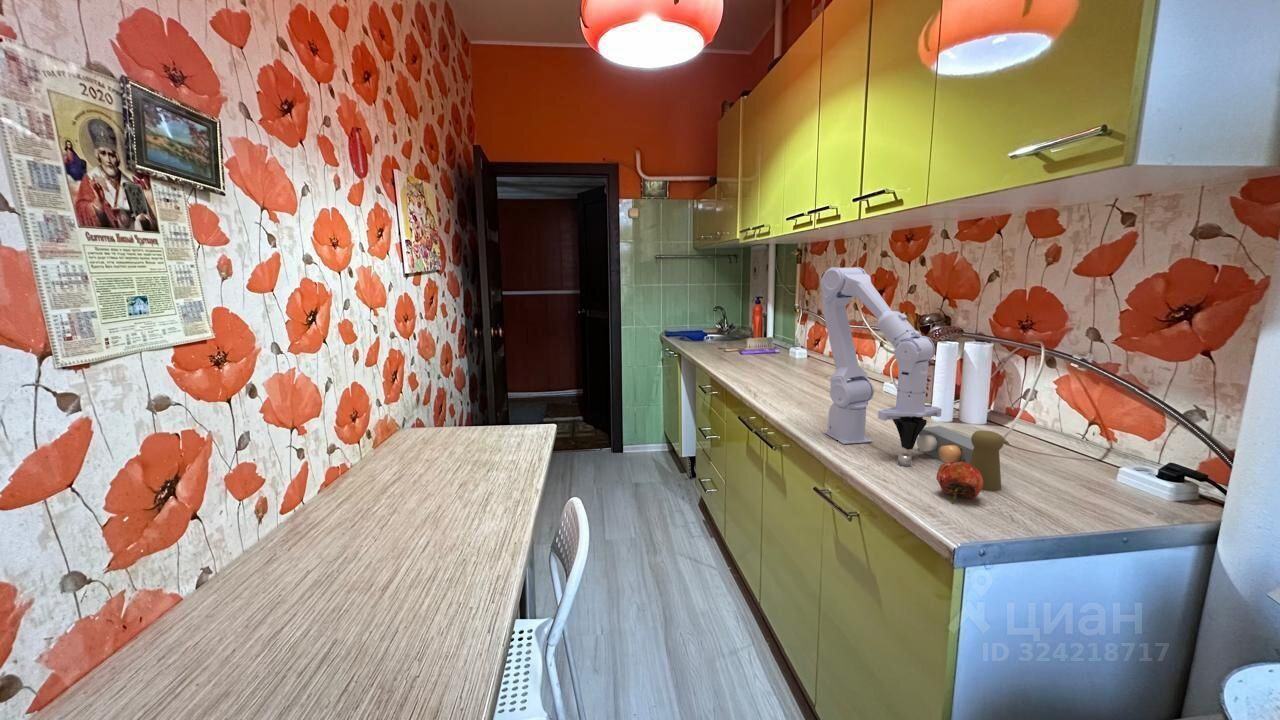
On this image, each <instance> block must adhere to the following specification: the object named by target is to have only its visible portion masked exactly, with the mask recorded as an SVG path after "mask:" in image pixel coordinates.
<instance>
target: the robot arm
mask: <svg viewBox="0 0 1280 720" xmlns="http://www.w3.org/2000/svg"><path fill="white" fill-rule="evenodd" d="M819 284H820V288H821V293H822V294H821V297H822V298H821V308H822V313H823V317H824V321H825V325H826V331H827V336H828V339H829V343H830V344H829V345H830V348H831V350H830V351H831V354H832V357H833V363H834V368H835V371H834V373H833V374H832V375H831V376H830V378H829V382H830V389H829V396H830V399H831V400H832V403H831V405H830V407H829V409H828V419H827V420H828V422H827V424H828V425H827V430H826V431H824V434H826V435H827V436H830V437H831V438H832V439H834V440H836V441H837V440H838V442H839V443H841V444H843V445H850V444H851V445H852V444H863V443H872V442H873V440H872V438H869V437H867V436H866V421H867V406H868V405H869V401H871V400H872V399H873V398H874V394H875V389H874V385H873V383H872V382H871V380H870V379H869V376H868V373H867V371H866V370H864V369H863V368H861V367H860V365H859V361H858V356H857V352H856V348H855V343H854V340H853V335H852V331H851V330H852V329H851V326H850V321H849V318H848V312H847V305H848V304H849V303H850V302H851V300H853V298H857V299H858V300H859V301H860V302H861V303H862V304H863V305H864V306H865V307H866V308H867V309H868V310H869V312H870V313H872V314H873V316H874V317H875V318H876V319H878V320H877V328H878V330H879V331H880V332H881V333H882V334H883V335H884V337H885V338H886V339H887V341H888V342H889V343H890V344H891V346H892V347H893V348H894V349H893V355H894V358H895V360H896V362H897V369H898V373H897V375H898V376H897V377H898V378H897V388H896V402H895V403H896V404H895V407H891V408H886V409H880V410H879V409H878V412H877V419H879V420H881V421H884V422H885V421H886V422H887V421H888V420H892V422H893V423H894V425H895V427H896V429H897V432H898V436H899V439H900V440H899V441H900V445H901V447H902V448H903V449H905V450H908V451H909V450H913V449H914V446H915V444H916V443H917V438H918V437H919V433H920V432H921V430H922V429H923V428H924V427H927V419H925V418H927V417H937V418H939V417H940V418H941V417H942V408H940V407H938V406H926V400H927V399H926V397H927V386H928V385H927V384H928V383H927V382H928V372H929V364H930V363H929V361H931V360H932V359H933V357H934V356H935V353H936V345H935V344H934V342H933V340H932V338H930V337H928V336H926V335H921V333H920V331H919V330H916V329H915V328H914V327H913V325H912V324H911V323H910V322H909V321H908V320H907V319H908V316H907V315H906V314H905V313H901V312H900V311H893V310H892V309H891V308H890V307H889V305H888V304H887V302H886V301H885V300H884V298H883V297H882V295H881V294H880V293H879V291H878V290H877V289H876V287H875V286H874V285H873V283H872V278H871V276H870V275H869V274H868V273H867V271H866V270H865V269H864V268H862V267H860V266H854V267H835V266H833V267H829V268H827V270H825V272H824V273H823V275H822V277H821V279H820V280H819Z"/></svg>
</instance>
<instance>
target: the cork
mask: <svg viewBox="0 0 1280 720" xmlns="http://www.w3.org/2000/svg"><path fill="white" fill-rule="evenodd" d="M970 438H971V441H972V444H973V446H974V449H973V452H972V456H971V460H970V465H971V466H973V467H975V468H976V469H978V470H979V472H980V473H981V475H982V478H983V488H982V490H981V491H986V492H998V491H1001V489H1002V478H1001V477H1002V475H1001V461H1000V460H1001V459H1000V450H1001V449H1003V446H1004V443H1005V440H1004V437H1002V434H999V432H995V431H990V430H982V429H981V430H976V431H974V433H972V436H971V437H970Z"/></svg>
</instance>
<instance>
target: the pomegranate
mask: <svg viewBox="0 0 1280 720" xmlns="http://www.w3.org/2000/svg"><path fill="white" fill-rule="evenodd" d="M936 481H937V483H938V484H939V486H940V488H941V489H940V490H942V492H944V493H945V494H947V495H951V496H953V497H952V501H951V505H953V504H954V502H955V499H956V498H957V496H960V497H962V498H965V499H975V498H976V497H977V496H978V495H979V494H980V492H981V491H983V490H982V488H983V478H982V475H981V473H980V472H979V470H978V469H976V468H975V467H973V466H971V465H970V464H968V463H966V462H965V460H962V462H948V463H945V462H943V464H941V465H940V466H939V467H938V470H937V472H936Z"/></svg>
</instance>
